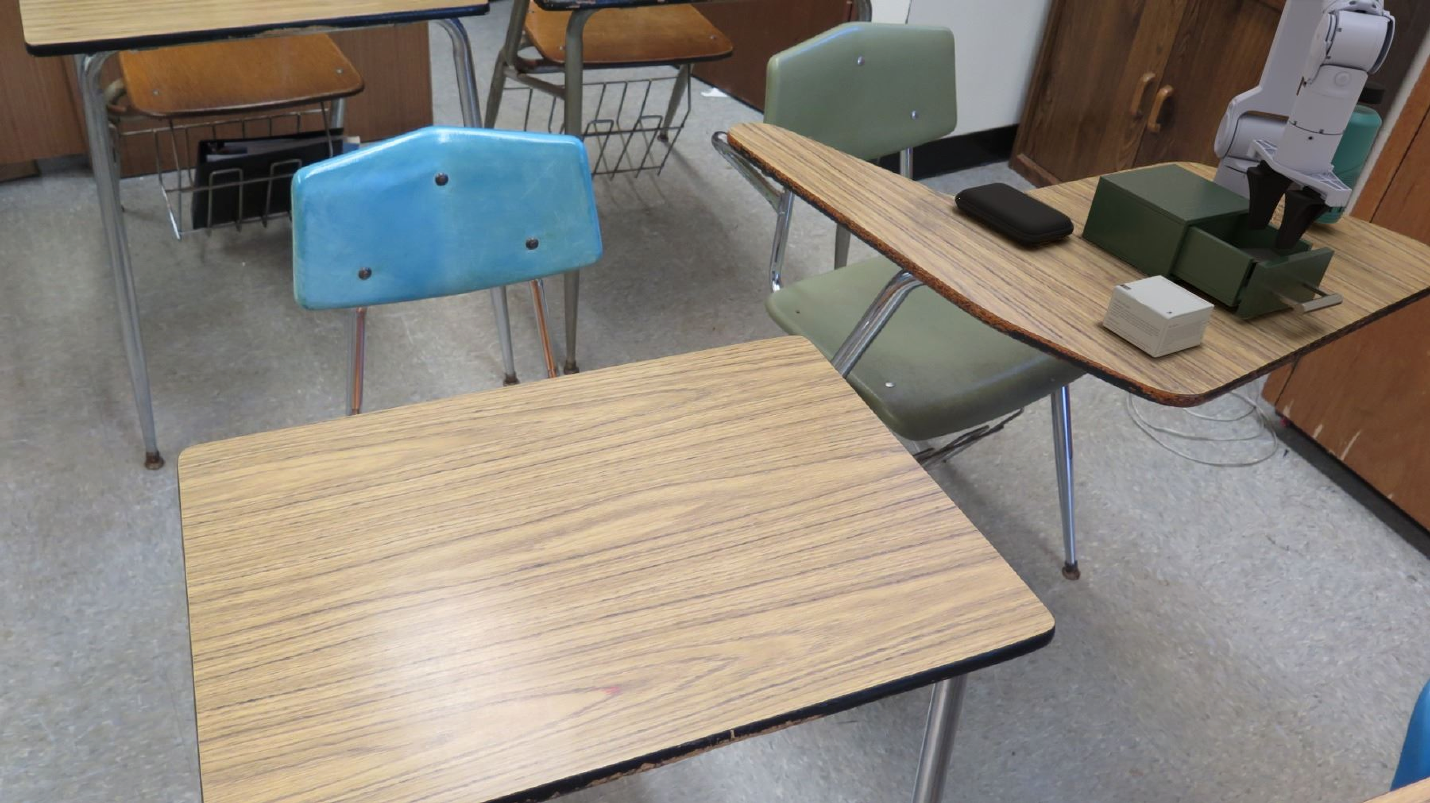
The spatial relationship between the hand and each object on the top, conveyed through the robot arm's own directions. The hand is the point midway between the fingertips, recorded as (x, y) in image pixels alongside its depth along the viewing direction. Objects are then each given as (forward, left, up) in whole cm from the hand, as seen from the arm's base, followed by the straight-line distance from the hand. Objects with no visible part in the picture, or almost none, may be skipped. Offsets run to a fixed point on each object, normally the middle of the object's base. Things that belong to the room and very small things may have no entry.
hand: (1269, 238), depth 126 cm
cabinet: (-7, -12, -8) cm, 16 cm away
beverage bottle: (-32, +4, -8) cm, 33 cm away
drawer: (0, 0, -7) cm, 7 cm away
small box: (+17, -8, -8) cm, 21 cm away
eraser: (-1, -1, -6) cm, 6 cm away
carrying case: (-2, -30, -8) cm, 31 cm away
